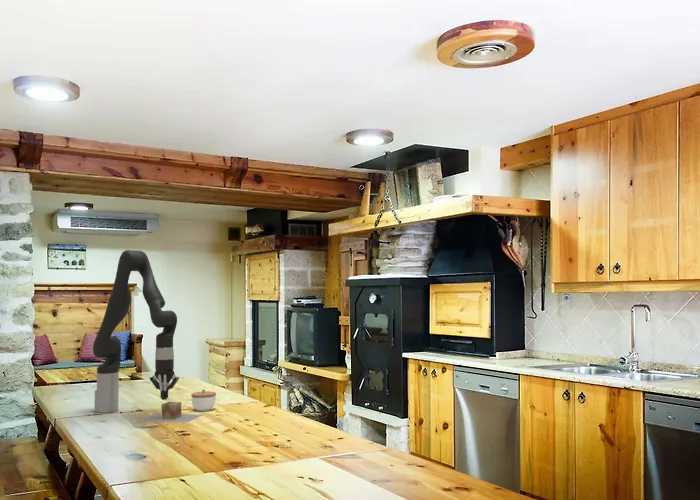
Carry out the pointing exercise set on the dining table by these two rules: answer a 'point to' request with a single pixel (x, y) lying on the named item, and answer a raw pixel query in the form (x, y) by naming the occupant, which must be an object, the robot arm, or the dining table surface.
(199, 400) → the lidded jar
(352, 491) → the dining table surface
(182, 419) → the mat
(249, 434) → the dining table surface
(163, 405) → the walnut cube
